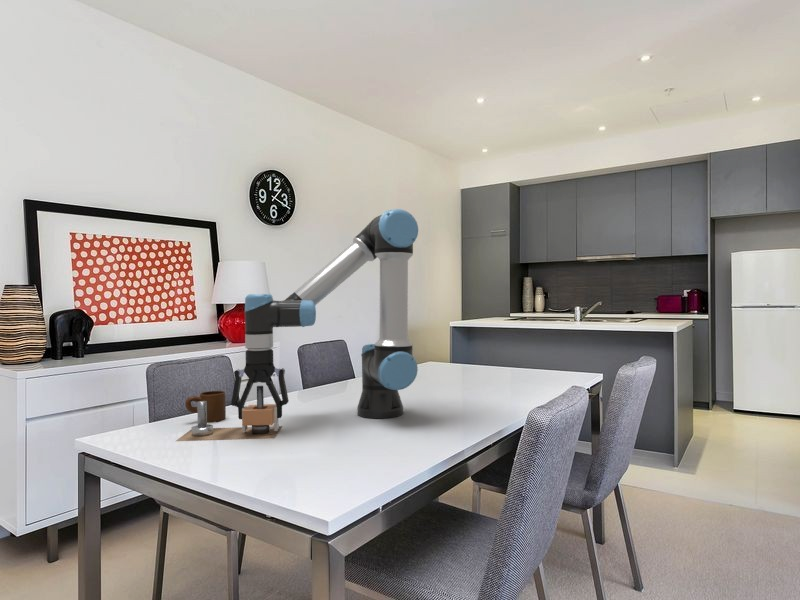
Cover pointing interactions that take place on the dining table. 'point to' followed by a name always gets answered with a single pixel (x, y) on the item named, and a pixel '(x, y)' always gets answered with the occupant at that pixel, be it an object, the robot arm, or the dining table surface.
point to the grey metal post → (202, 421)
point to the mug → (210, 405)
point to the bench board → (230, 434)
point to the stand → (260, 405)
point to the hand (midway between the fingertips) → (260, 430)
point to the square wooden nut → (258, 415)
